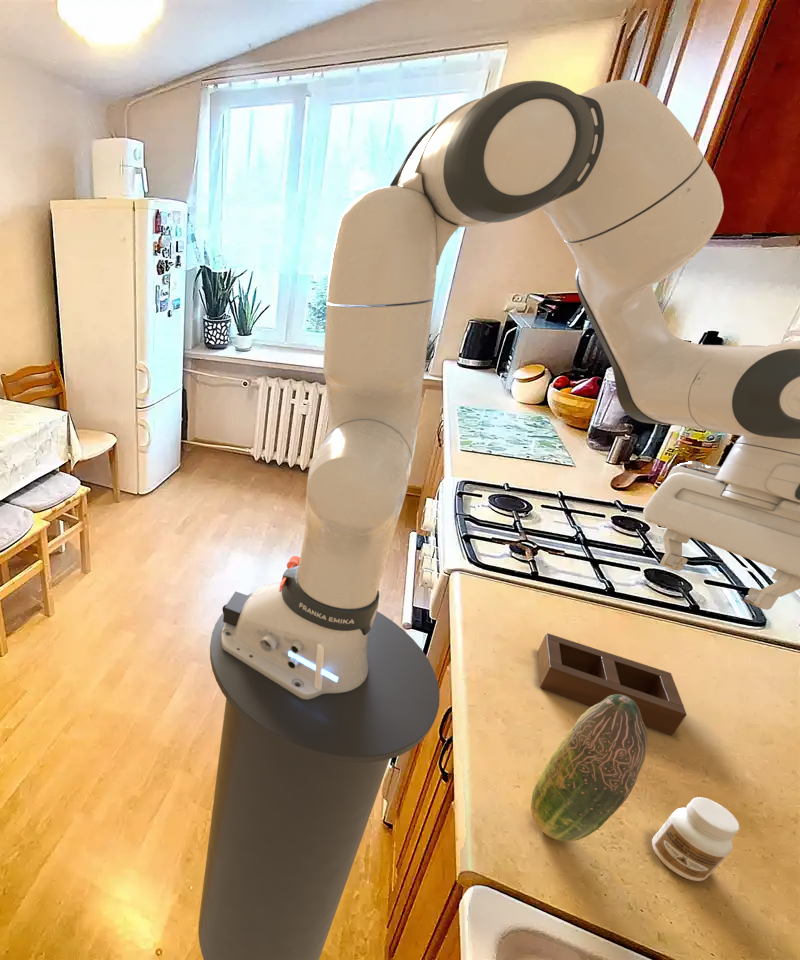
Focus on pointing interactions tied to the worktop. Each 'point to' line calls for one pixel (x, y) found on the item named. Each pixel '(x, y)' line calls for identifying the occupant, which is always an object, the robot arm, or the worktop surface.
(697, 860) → the pill bottle
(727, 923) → the worktop surface
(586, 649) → the holder
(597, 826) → the vegetable
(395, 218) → the robot arm
